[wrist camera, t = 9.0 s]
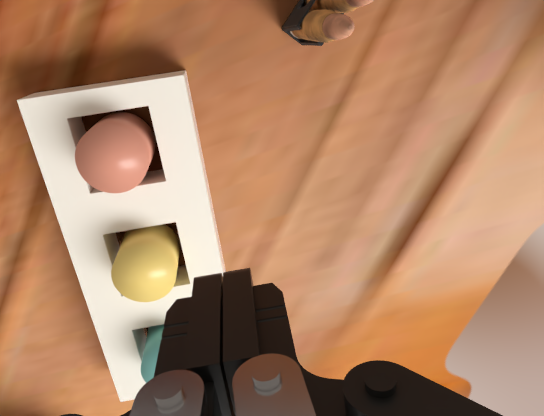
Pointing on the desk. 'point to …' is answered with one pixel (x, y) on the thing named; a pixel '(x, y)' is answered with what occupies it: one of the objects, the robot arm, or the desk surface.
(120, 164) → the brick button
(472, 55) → the desk surface
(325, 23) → the ammunition clip
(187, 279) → the panel
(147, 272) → the ochre button
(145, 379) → the teal button
